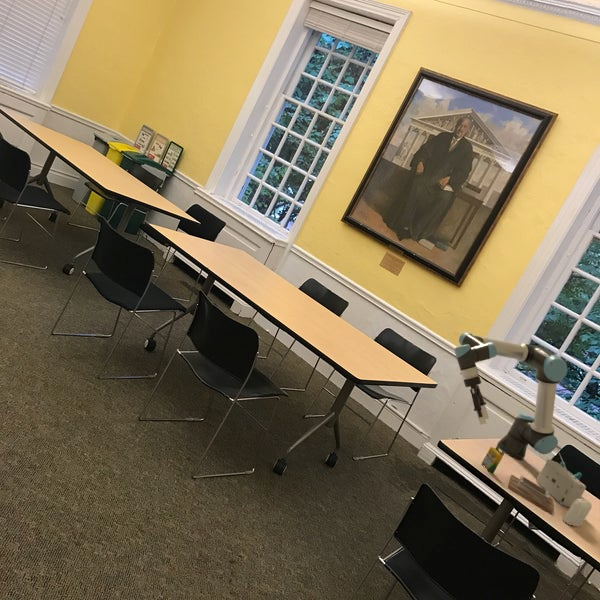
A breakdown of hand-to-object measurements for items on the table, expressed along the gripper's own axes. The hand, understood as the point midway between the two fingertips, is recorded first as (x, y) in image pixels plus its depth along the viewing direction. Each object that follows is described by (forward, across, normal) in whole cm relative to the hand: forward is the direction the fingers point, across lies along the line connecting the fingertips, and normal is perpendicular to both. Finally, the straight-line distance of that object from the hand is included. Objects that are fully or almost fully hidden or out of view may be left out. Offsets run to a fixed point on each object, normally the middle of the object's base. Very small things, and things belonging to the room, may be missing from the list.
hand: (484, 421), depth 273 cm
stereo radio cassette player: (+44, -22, +17) cm, 52 cm away
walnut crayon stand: (+36, 0, +9) cm, 37 cm away
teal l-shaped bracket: (+46, -58, +20) cm, 77 cm away
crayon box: (+22, 0, -6) cm, 22 cm away
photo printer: (+50, +5, +23) cm, 55 cm away
